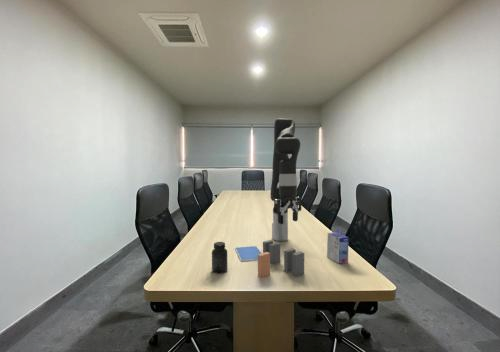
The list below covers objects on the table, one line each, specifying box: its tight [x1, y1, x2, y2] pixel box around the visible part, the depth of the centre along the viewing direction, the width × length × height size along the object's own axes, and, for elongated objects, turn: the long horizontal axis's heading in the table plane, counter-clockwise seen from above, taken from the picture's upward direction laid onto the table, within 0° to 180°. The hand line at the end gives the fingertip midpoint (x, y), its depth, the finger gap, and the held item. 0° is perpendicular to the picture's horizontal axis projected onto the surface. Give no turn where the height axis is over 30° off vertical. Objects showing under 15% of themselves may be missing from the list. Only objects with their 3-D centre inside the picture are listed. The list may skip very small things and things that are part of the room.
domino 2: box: [257, 252, 271, 278], centre depth 99 cm, size 2×5×9 cm, turn 125°
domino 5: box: [291, 251, 305, 278], centre depth 99 cm, size 2×5×9 cm, turn 125°
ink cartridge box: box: [326, 228, 349, 264], centre depth 114 cm, size 10×6×14 cm, turn 15°
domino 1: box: [262, 239, 274, 253], centre depth 115 cm, size 2×5×9 cm, turn 125°
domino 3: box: [269, 242, 281, 266], centre depth 111 cm, size 2×5×9 cm, turn 125°
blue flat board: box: [234, 245, 262, 263], centre depth 124 cm, size 19×13×1 cm, turn 12°
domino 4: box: [283, 248, 297, 273], centre depth 103 cm, size 2×5×9 cm, turn 125°
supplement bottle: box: [211, 241, 229, 274], centre depth 104 cm, size 7×7×12 cm
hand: (288, 222), depth 101 cm, fingers open, 8 cm apart
